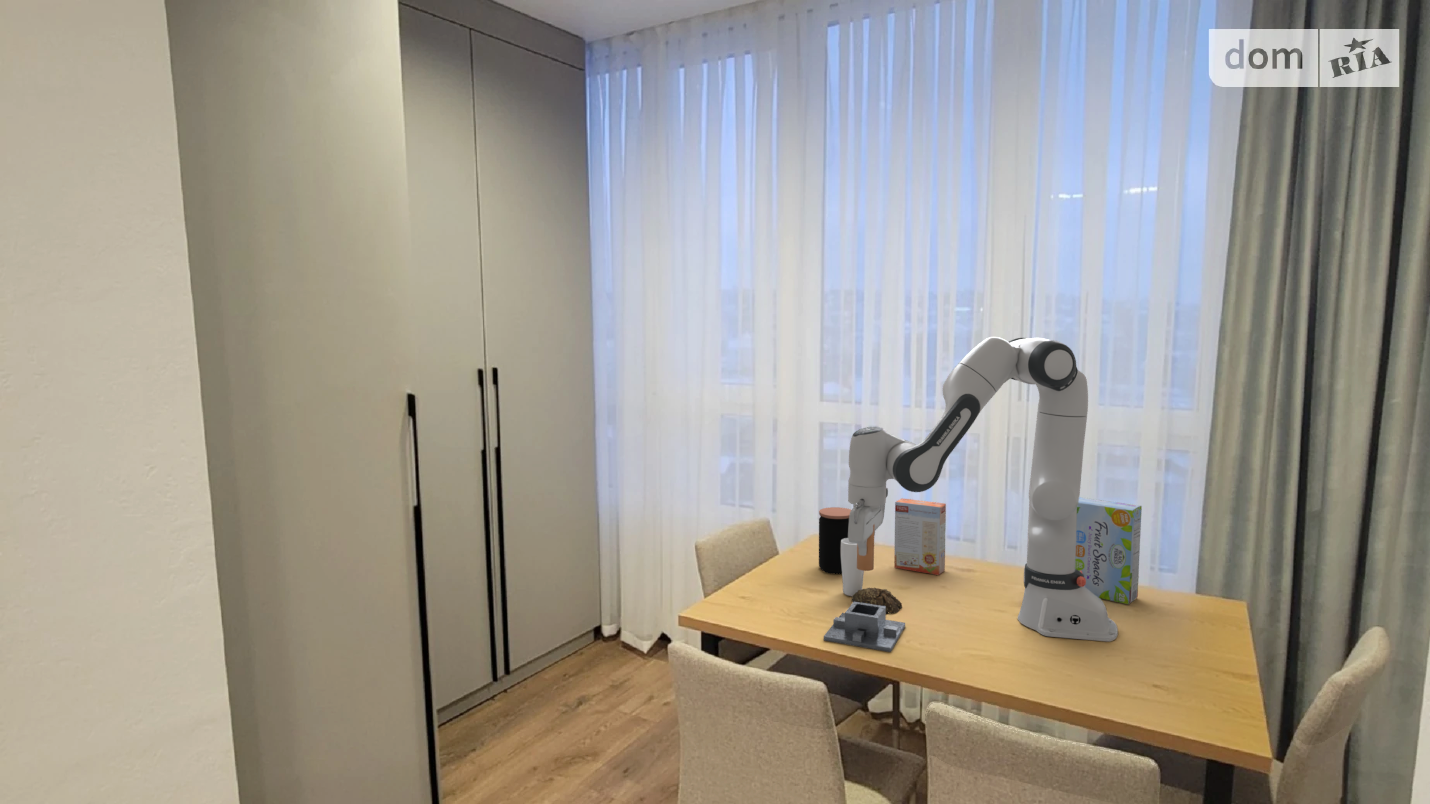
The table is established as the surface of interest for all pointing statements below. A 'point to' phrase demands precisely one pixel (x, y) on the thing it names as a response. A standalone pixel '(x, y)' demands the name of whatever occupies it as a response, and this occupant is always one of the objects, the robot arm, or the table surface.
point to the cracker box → (920, 536)
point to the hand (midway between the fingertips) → (865, 551)
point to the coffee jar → (832, 537)
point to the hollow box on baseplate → (865, 628)
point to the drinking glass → (850, 568)
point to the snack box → (1109, 548)
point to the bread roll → (878, 598)
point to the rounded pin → (867, 555)
